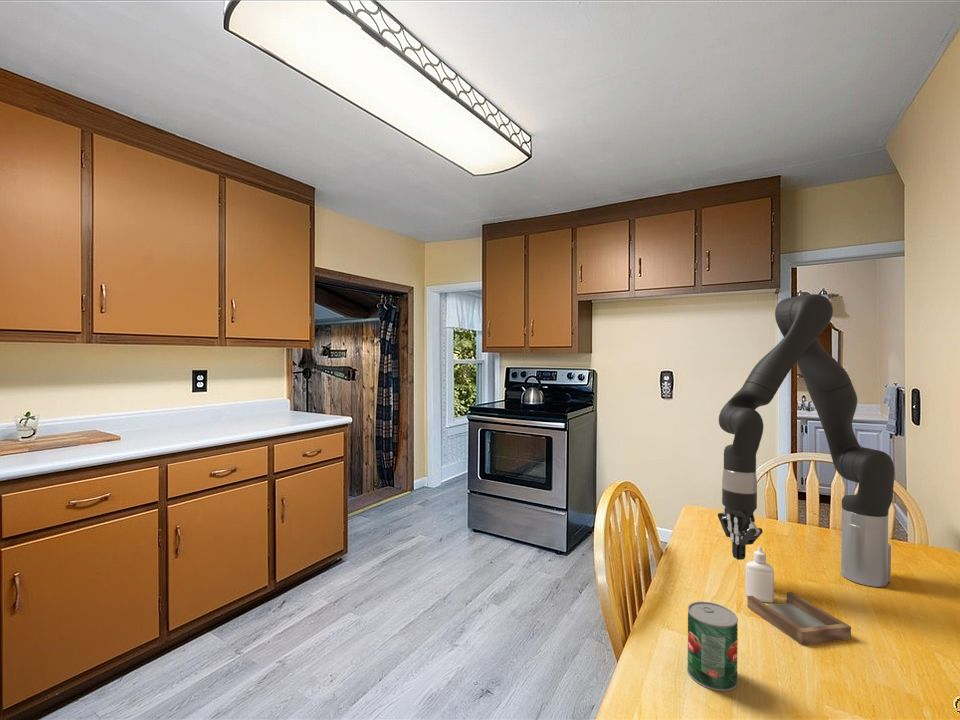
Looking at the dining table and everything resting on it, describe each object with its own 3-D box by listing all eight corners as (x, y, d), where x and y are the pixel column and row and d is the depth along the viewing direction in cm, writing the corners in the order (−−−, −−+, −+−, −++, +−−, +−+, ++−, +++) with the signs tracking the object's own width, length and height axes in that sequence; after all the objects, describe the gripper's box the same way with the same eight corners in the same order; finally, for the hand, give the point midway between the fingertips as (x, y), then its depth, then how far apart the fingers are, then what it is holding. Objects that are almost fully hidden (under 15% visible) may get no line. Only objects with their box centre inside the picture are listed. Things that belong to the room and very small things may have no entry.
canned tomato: (747, 690, 79) (748, 625, 79) (702, 692, 78) (703, 626, 78) (720, 660, 87) (720, 600, 87) (678, 662, 86) (679, 602, 86)
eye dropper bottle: (767, 606, 106) (768, 553, 106) (742, 595, 111) (742, 544, 111) (776, 601, 109) (777, 548, 109) (751, 590, 113) (752, 540, 113)
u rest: (791, 602, 108) (791, 591, 108) (850, 639, 94) (851, 626, 94) (747, 607, 106) (747, 596, 106) (801, 645, 92) (802, 632, 92)
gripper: (774, 495, 110) (773, 569, 111) (733, 480, 123) (732, 546, 124) (745, 496, 109) (745, 571, 109) (708, 481, 122) (707, 548, 122)
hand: (738, 558), depth 116 cm, fingers closed
